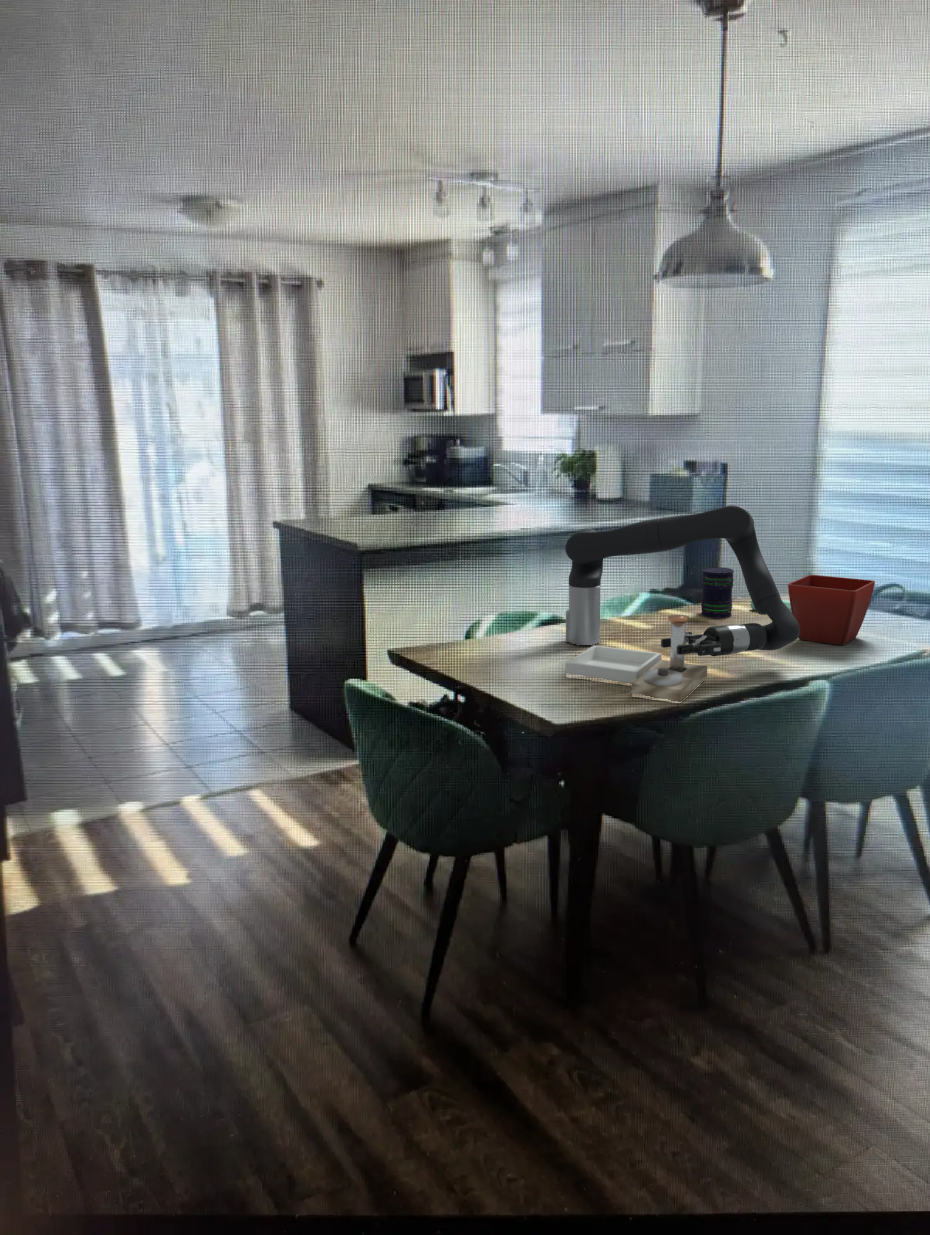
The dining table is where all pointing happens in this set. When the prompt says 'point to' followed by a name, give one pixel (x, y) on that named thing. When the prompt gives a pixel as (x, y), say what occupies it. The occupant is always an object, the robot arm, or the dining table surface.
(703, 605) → the storage jar
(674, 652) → the lock pin
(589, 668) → the tray
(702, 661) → the dining table surface
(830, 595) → the plant pot
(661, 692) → the wooden peg base
